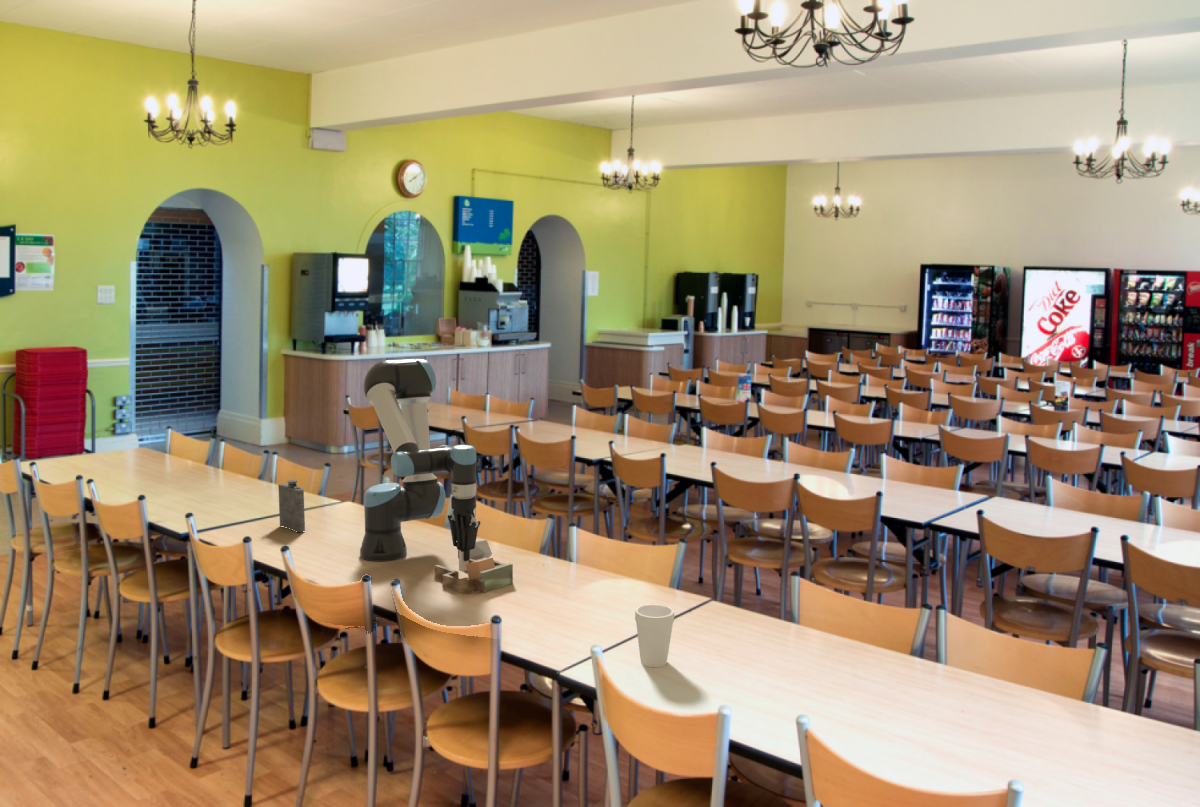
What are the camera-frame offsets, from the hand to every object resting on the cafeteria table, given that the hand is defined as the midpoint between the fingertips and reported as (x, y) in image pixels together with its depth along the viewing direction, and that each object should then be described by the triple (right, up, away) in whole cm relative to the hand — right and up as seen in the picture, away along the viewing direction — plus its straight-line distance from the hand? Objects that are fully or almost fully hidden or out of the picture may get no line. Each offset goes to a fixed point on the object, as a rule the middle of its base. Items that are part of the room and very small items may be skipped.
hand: (463, 570), depth 293 cm
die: (+3, 0, +14) cm, 14 cm away
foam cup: (+55, -12, -63) cm, 84 cm away
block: (+7, -2, -6) cm, 9 cm away
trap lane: (+3, -2, -3) cm, 5 cm away
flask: (-70, +6, +51) cm, 87 cm away
